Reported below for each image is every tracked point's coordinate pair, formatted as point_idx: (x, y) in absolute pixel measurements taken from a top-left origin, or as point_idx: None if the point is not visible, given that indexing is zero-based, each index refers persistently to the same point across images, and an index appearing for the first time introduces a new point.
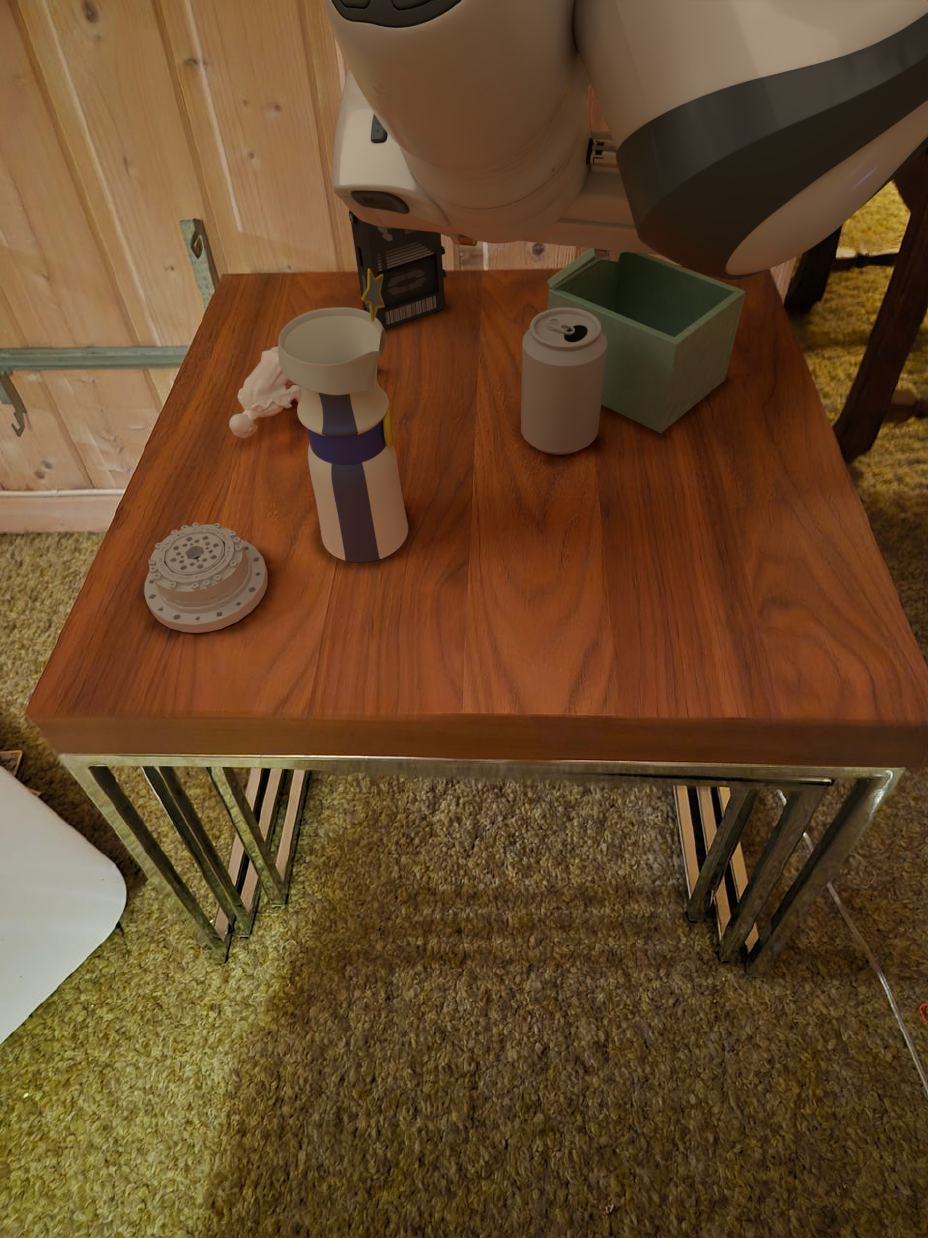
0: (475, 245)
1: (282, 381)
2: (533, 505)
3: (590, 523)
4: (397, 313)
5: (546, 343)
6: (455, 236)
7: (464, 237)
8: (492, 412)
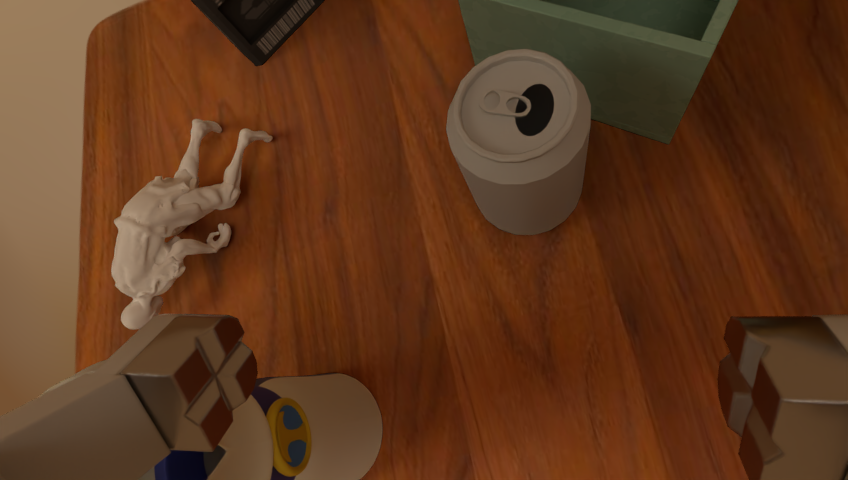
0: (254, 385)
1: (157, 249)
2: (528, 333)
3: (616, 351)
4: (271, 36)
5: (492, 159)
6: (157, 460)
7: (191, 449)
8: (430, 169)
